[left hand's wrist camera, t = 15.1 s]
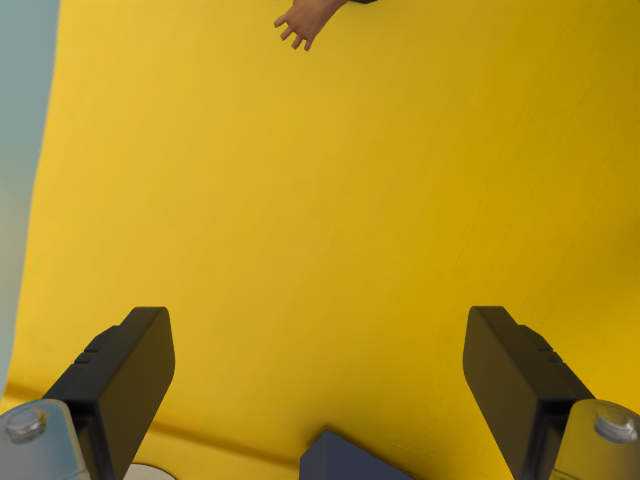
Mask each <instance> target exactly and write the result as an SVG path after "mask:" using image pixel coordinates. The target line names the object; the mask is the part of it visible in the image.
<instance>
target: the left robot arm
mask: <svg viewBox="0 0 640 480" xmlns="http://www.w3.org/2000/svg"><path fill="white" fill-rule="evenodd" d="M174 370H175V353H174V346H173V339H172V332H171V325H170V318H169V313H168V310H167V308H166V307H135V308H134V309H133V310H132V311H131V312H130V313H129V315H128V316H127V317H126V318H125V319H124V321H123V322H122V323H121V324H120V326H112V327H110V328H109V329H107V330H106V331H104V332H102V333H101V334H99V335H98V336H96V337H95V338H94V339H93V340H92V341H91V343H90V344H89V345H88V346H87V347H86V348H85V349H84V353H81V354H80V355H79V356H78V357H77V358H76V360H75V361H74V364H71V365H70V366H69V368H68V369H67V370H66V371H65V372H64V373H63V374H62V376H61V377H60V378H59V379H58V380H57V381H56V382H55V384H54V385H53V386H52V387H51V388H50V389H49V390H48V392H47V393H46V394H45V395H44V396H43V397H42V398H41V400H35V401H31V402H28V403H24V404H22V405H19V406H17V407H15V408H13V409H11V410H9V411H7V412H5V413H4V414H2V415H1V416H0V480H123V479H124V477H125V475H126V473H127V471H128V469H129V467H130V465H131V463H132V461H133V458H134V456H135V454H136V452H137V450H138V448H139V446H140V444H141V442H142V440H143V438H144V436H145V434H146V432H147V430H148V428H149V426H150V424H151V422H152V420H153V418H154V416H155V414H156V412H157V410H158V408H159V406H160V404H161V402H162V400H163V398H164V396H165V394H166V392H167V390H168V388H169V386H170V384H171V381H172V379H173V375H174ZM463 370H464V375H465V379H466V381H467V383H468V385H469V387H470V389H471V391H472V393H473V395H474V398H475V400H476V402H477V404H478V406H479V408H480V410H481V412H482V414H483V416H484V418H485V420H486V422H487V424H488V426H489V428H490V430H491V432H492V434H493V436H494V439H495V441H496V443H497V445H498V447H499V449H500V451H501V453H502V455H503V457H504V459H505V461H506V463H507V465H508V467H509V469H510V471H511V473H512V475H513V478H514V480H640V416H639V415H638V414H636V413H635V412H633V411H631V410H629V409H627V408H625V407H623V406H621V405H618V404H616V403H612V402H609V401H605V400H599V399H596V398H595V397H594V396H593V394H592V393H591V392H590V391H589V390H588V389H587V387H586V386H585V385H584V384H583V383H582V382H581V381H580V379H579V378H578V377H577V376H576V375H575V374H574V373H573V371H572V370H571V369H570V368H569V367H568V366H567V364H566V363H563V360H562V359H561V358H560V356H559V355H558V354H557V353H556V352H553V348H552V347H551V346H550V345H549V344H548V343H547V341H546V340H545V339H544V338H543V337H542V336H541V335H539V334H538V333H536V332H535V331H533V330H531V329H530V328H528V327H527V326H525V325H518V324H517V323H516V322H515V321H514V319H513V318H512V317H511V316H510V315H509V313H508V312H507V311H506V310H505V308H504V307H502V306H472V307H471V309H470V311H469V315H468V322H467V329H466V337H465V344H464V351H463Z"/></svg>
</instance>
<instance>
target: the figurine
mask: <svg viewBox="0 0 640 480" xmlns="http://www.w3.org/2000/svg"><path fill="white" fill-rule="evenodd" d="M348 1H353V2H358V3H363V4H367V3H370V2H374V1H377V0H294V1H293V6H292V7H291V8H290V9H289V10H288V11H287V12H286V13H285V14H284V15H282V16H281V17H279V18H278V19H277V20H276V21H275V22H274V26H275V28H276V27H278V26H280V25H282V24H283V23H284V22H285V21H286V22H287V24H288V25H289V27H288V28H287V29H286V30H285V31H284V32H283V33H282V34H281V35H280V37H281V38H282V40H283V41H284V40H285V39H286V38H287V37H288V36H289V35H290V34H291V33H292V32H295V33H296V34H297V37H296V39H295V40H294V42H293V44H292V47H293V48H294V49H296V48H298V47H299V45H300V44H301V42H302V40H303V39H304V40H307V41H306V44H305V47H304V50H306V51H307V52H308V50H309V49H310V47H311V44H312V42H313V40H314V38H315V36H316V35H317V34H318V33H319V32H320V31H321V29H322V28H323V26H324V25H325V24H326V23H327V21H328V20H329V19H330V18H331V17H332V15H333V14H334V13H335V12H336V11H337V10H338V9H339V8H340V7H341V6H343V5H344V4H345V3H347V2H348Z"/></svg>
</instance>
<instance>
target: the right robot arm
mask: <svg viewBox="0 0 640 480" xmlns="http://www.w3.org/2000/svg"><path fill="white" fill-rule="evenodd" d="M123 480H175V479H174V478H173V477H172V476H170V475H169V474H167V473H165V472H163V471H161V470H159V469H156V468H154V467H150V466H146V465H140V464H131V465H130V467H129V469H128V471H127V473H126V475H125V477H124V479H123Z"/></svg>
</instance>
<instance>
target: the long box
mask: <svg viewBox="0 0 640 480" xmlns="http://www.w3.org/2000/svg"><path fill="white" fill-rule="evenodd" d="M299 480H415V479H413V478H411V477H410V476H408V475H406V474H404V473H402V472H401V471H399V470H397V469H395V468H394V467H392V466H390V465H388V464H387V463H385V462H383V461H381V460H380V459H378V458H376V457H374V456H373V455H371V454H369V453H367V452H366V451H364V450H362V449H360V448H359V447H357V446H355V445H353V444H352V443H350V442H348V441H346V440H345V439H343V438H341V437H339V436H338V435H336V434H334V433H332V432H330V431H329V430H326V431H325V432H324V433H323V434H322V435H321V436H320V437H319V438H318V439H317V440H316V442H315V443H314V444H313V445H312V446H311V447H310V448H309V449H308V450H307V451H306V452H305V453H304V454H303V455H302V456H301V457H300V472H299Z"/></svg>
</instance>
